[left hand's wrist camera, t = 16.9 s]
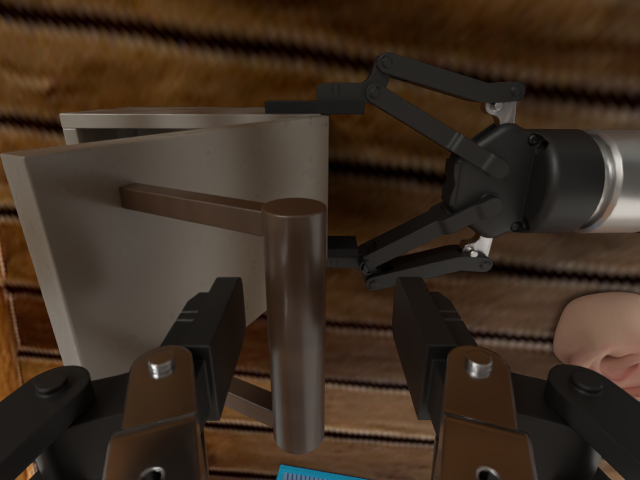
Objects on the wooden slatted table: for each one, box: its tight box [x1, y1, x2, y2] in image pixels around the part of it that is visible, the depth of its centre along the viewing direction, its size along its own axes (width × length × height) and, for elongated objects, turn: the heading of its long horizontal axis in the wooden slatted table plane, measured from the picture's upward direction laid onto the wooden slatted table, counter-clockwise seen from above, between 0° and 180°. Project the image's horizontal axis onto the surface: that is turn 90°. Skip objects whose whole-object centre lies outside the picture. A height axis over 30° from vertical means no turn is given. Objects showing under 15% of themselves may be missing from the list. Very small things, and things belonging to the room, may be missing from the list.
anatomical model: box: [553, 292, 640, 401], centre depth 40 cm, size 13×4×12 cm
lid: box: [0, 115, 329, 454], centre depth 17 cm, size 17×10×8 cm
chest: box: [59, 107, 321, 145], centre depth 30 cm, size 17×10×9 cm, turn 90°
